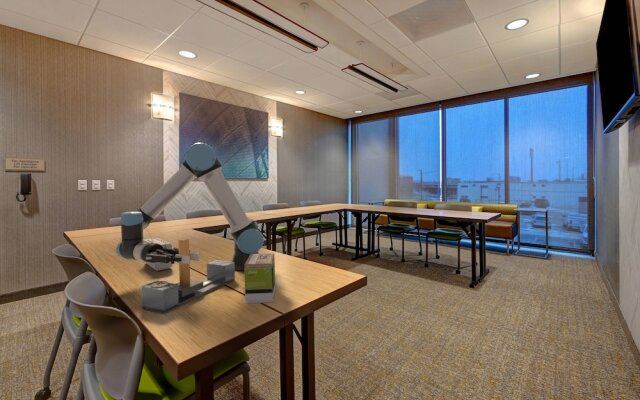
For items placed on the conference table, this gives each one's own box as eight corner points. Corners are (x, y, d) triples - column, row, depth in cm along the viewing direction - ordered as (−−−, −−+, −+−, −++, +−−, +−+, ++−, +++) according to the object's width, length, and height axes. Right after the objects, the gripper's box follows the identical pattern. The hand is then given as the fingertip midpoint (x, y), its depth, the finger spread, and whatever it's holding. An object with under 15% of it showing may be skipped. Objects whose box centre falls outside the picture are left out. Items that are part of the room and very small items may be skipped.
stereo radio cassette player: (173, 269, 146) (172, 229, 145) (155, 272, 141) (153, 231, 139) (160, 261, 161) (158, 224, 160) (143, 263, 155) (141, 226, 154)
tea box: (250, 288, 120) (250, 252, 119) (275, 288, 121) (275, 252, 120) (244, 304, 105) (243, 263, 104) (273, 303, 106) (272, 262, 105)
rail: (216, 277, 134) (216, 258, 133) (234, 280, 130) (234, 260, 129) (142, 309, 100) (141, 283, 100) (163, 314, 97) (162, 287, 96)
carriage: (187, 284, 117) (186, 236, 116) (203, 287, 114) (202, 238, 113) (165, 293, 108) (164, 241, 107) (182, 297, 105) (180, 243, 103)
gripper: (167, 256, 125) (210, 262, 116) (129, 267, 110) (175, 275, 101) (167, 239, 125) (210, 244, 116) (128, 247, 109) (174, 253, 100)
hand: (194, 258), depth 108 cm, fingers closed on carriage, 4 cm apart
